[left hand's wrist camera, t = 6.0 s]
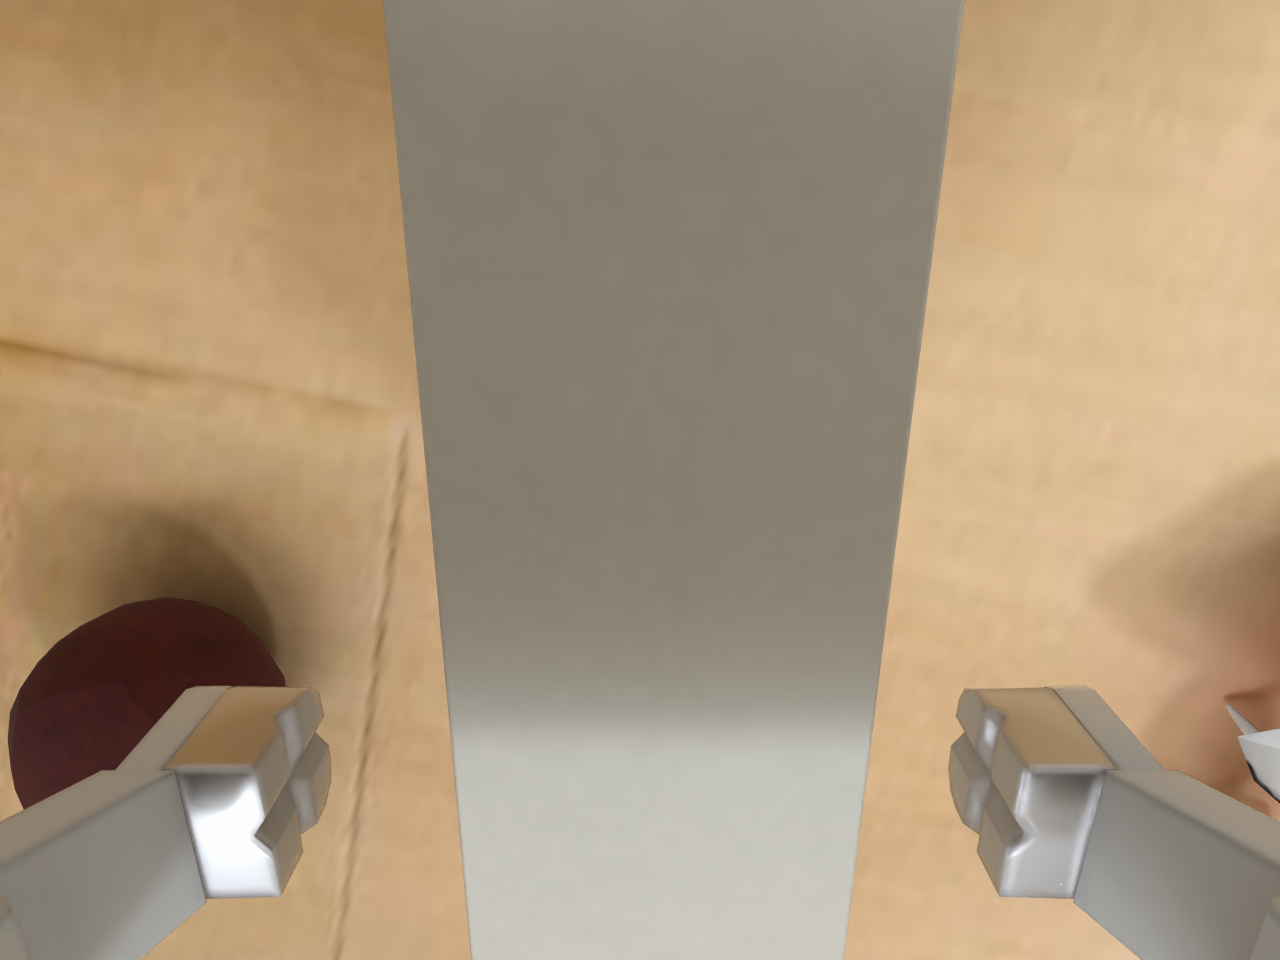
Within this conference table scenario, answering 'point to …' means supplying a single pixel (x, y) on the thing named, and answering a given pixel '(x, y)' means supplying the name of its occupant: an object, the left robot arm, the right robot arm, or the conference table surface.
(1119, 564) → the conference table surface
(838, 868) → the bar
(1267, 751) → the fish
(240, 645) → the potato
